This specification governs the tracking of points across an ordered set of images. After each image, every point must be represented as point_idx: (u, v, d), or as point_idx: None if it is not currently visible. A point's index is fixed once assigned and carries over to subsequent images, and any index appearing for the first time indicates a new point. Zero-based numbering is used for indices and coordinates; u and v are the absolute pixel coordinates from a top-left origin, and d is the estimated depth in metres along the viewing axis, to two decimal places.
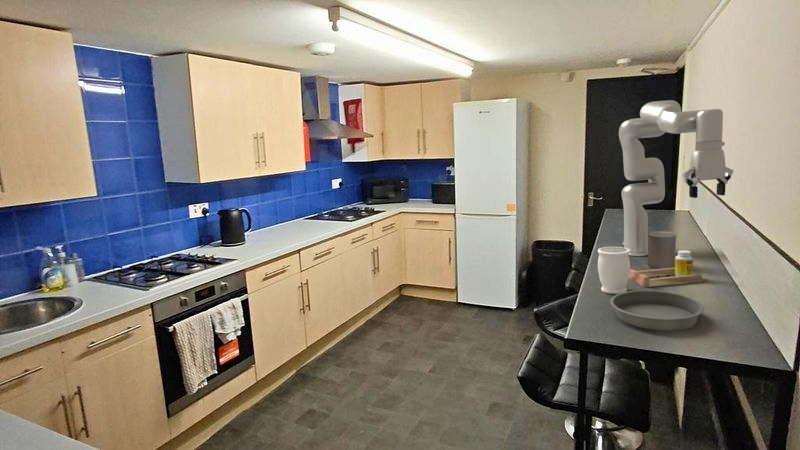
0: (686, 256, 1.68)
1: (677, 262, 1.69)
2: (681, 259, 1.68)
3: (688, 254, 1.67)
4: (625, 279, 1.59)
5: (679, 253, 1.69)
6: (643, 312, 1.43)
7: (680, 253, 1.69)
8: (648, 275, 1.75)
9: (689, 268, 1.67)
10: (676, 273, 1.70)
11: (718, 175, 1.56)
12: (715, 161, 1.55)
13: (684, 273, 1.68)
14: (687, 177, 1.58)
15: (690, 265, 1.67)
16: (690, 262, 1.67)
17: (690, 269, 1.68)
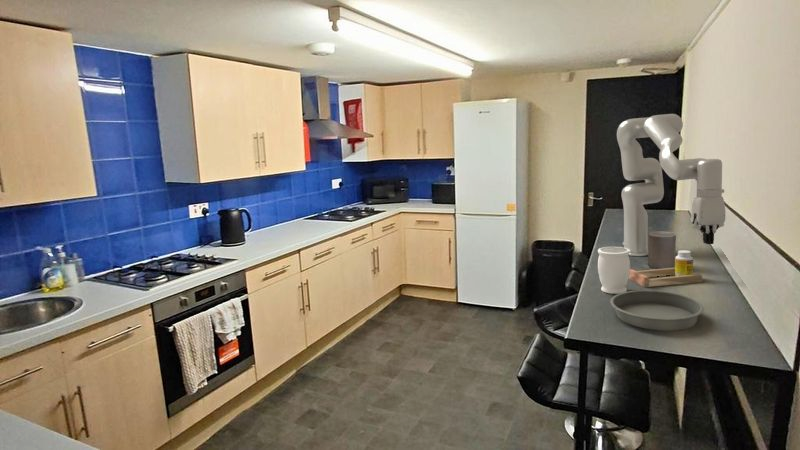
0: (686, 256, 1.68)
1: (677, 262, 1.69)
2: (681, 259, 1.68)
3: (688, 254, 1.67)
4: (625, 279, 1.59)
5: (679, 253, 1.69)
6: (643, 312, 1.43)
7: (680, 253, 1.69)
8: (648, 275, 1.75)
9: (689, 268, 1.67)
10: (676, 273, 1.70)
11: (719, 221, 1.65)
12: (715, 208, 1.64)
13: (684, 273, 1.68)
14: (699, 227, 1.67)
15: (690, 265, 1.67)
16: (690, 262, 1.67)
17: (690, 269, 1.68)
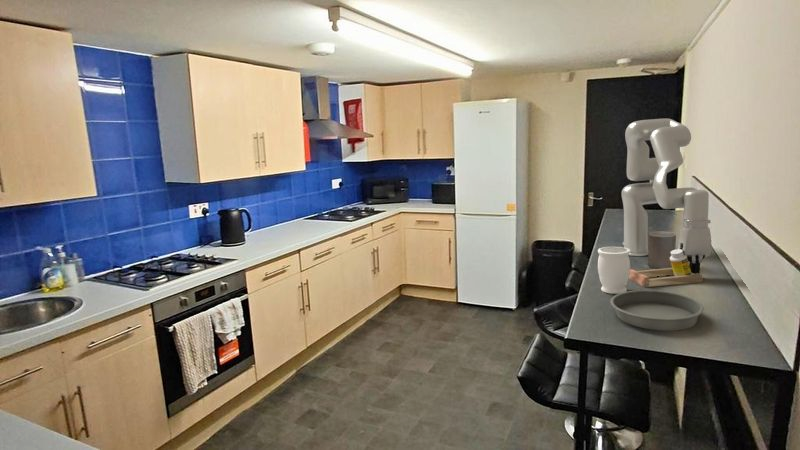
0: (679, 256, 1.67)
1: (672, 263, 1.69)
2: (675, 260, 1.68)
3: (681, 254, 1.67)
4: (625, 279, 1.59)
5: (672, 254, 1.69)
6: (643, 312, 1.43)
7: (673, 254, 1.68)
8: (648, 275, 1.75)
9: (686, 266, 1.67)
10: (675, 273, 1.70)
11: (705, 251, 1.67)
12: (702, 238, 1.66)
13: (682, 273, 1.68)
14: None
15: (686, 264, 1.67)
16: (685, 261, 1.67)
17: (687, 267, 1.67)
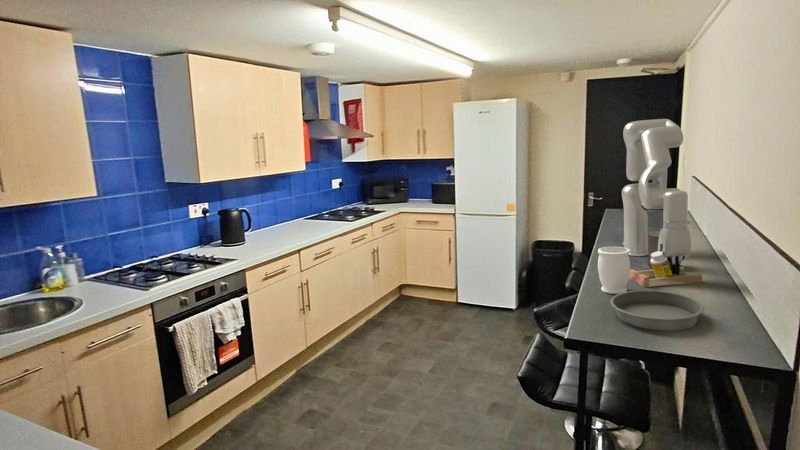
0: (660, 259, 1.66)
1: (653, 266, 1.68)
2: (656, 263, 1.67)
3: (661, 256, 1.66)
4: (625, 279, 1.59)
5: (652, 257, 1.68)
6: (643, 312, 1.43)
7: (653, 257, 1.67)
8: (648, 275, 1.75)
9: (666, 268, 1.66)
10: (656, 276, 1.70)
11: (684, 252, 1.66)
12: (681, 239, 1.65)
13: (663, 275, 1.67)
14: None
15: (666, 266, 1.66)
16: (665, 263, 1.66)
17: (667, 269, 1.66)
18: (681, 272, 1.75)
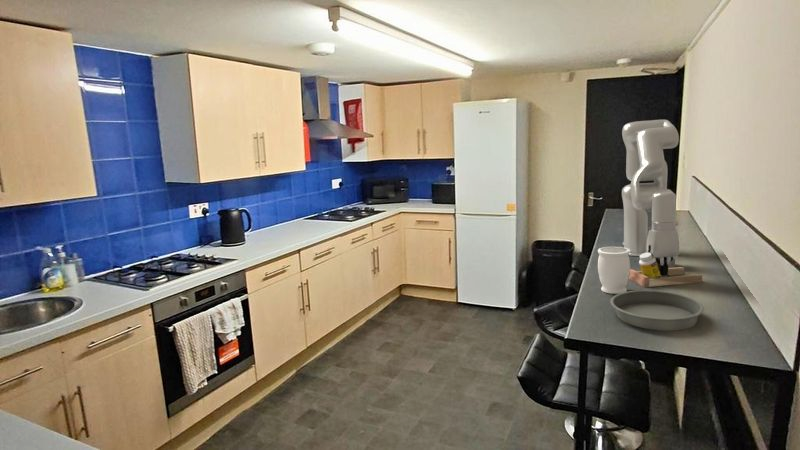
0: (648, 260, 1.66)
1: (642, 267, 1.68)
2: (645, 264, 1.66)
3: (650, 257, 1.66)
4: (625, 279, 1.59)
5: (641, 258, 1.67)
6: (643, 312, 1.43)
7: (642, 258, 1.67)
8: None
9: (655, 269, 1.66)
10: None
11: (673, 253, 1.66)
12: (669, 240, 1.65)
13: (652, 276, 1.67)
14: None
15: (655, 267, 1.66)
16: (654, 264, 1.66)
17: (656, 271, 1.66)
18: (681, 272, 1.75)
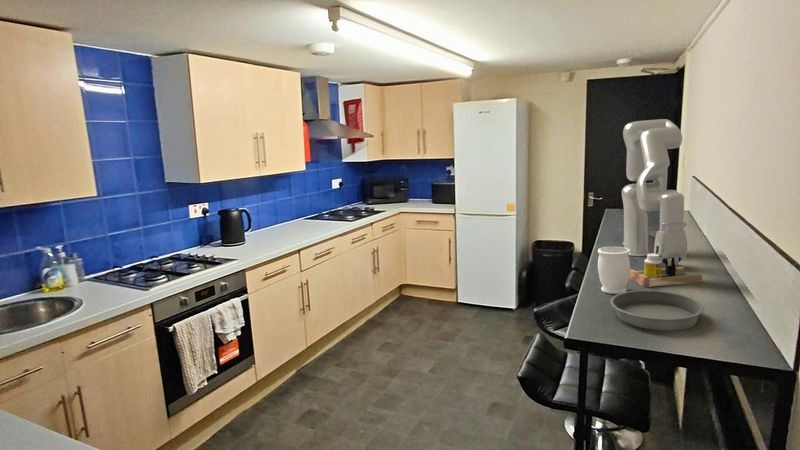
0: (655, 260, 1.67)
1: (646, 265, 1.68)
2: (650, 262, 1.67)
3: (657, 257, 1.66)
4: (625, 279, 1.59)
5: (648, 256, 1.68)
6: (643, 312, 1.43)
7: (649, 256, 1.67)
8: None
9: (658, 271, 1.66)
10: None
11: (680, 254, 1.67)
12: (677, 241, 1.66)
13: (653, 276, 1.67)
14: (661, 259, 1.69)
15: (659, 268, 1.66)
16: (659, 265, 1.66)
17: (659, 272, 1.67)
18: (681, 272, 1.75)
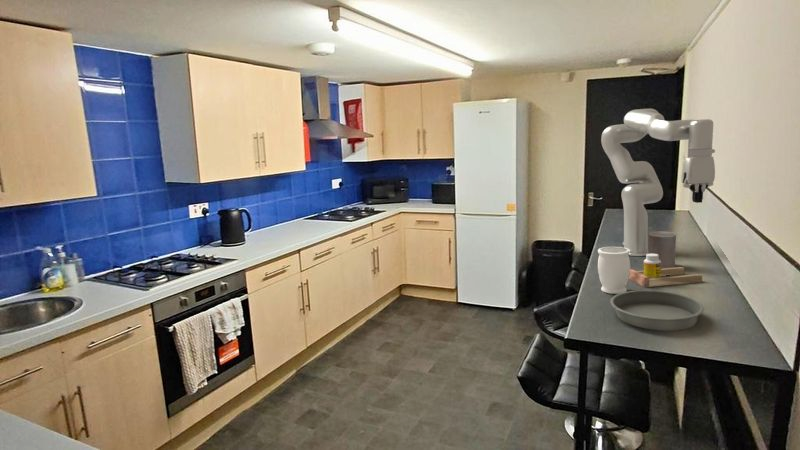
0: (654, 260, 1.67)
1: (646, 266, 1.68)
2: (650, 262, 1.67)
3: (656, 257, 1.67)
4: (625, 279, 1.59)
5: (647, 256, 1.68)
6: (643, 312, 1.43)
7: (648, 256, 1.68)
8: None
9: (658, 271, 1.67)
10: None
11: (708, 180, 1.71)
12: (705, 167, 1.69)
13: (653, 276, 1.67)
14: (688, 186, 1.73)
15: (659, 268, 1.67)
16: (658, 265, 1.66)
17: (659, 272, 1.67)
18: (681, 272, 1.75)
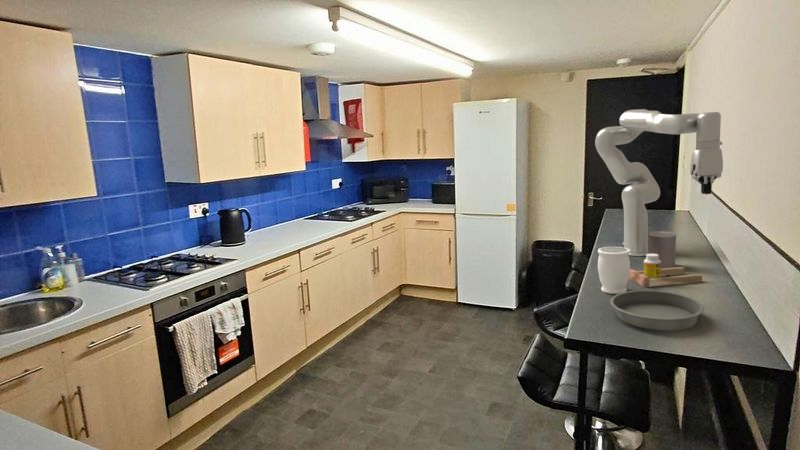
0: (654, 260, 1.67)
1: (646, 266, 1.68)
2: (650, 262, 1.67)
3: (656, 257, 1.67)
4: (625, 279, 1.59)
5: (647, 256, 1.68)
6: (643, 312, 1.43)
7: (649, 256, 1.67)
8: None
9: (658, 271, 1.67)
10: None
11: (716, 172, 1.74)
12: (713, 159, 1.72)
13: (653, 276, 1.67)
14: (697, 177, 1.75)
15: (659, 268, 1.67)
16: (659, 265, 1.66)
17: (659, 272, 1.67)
18: (681, 272, 1.75)
